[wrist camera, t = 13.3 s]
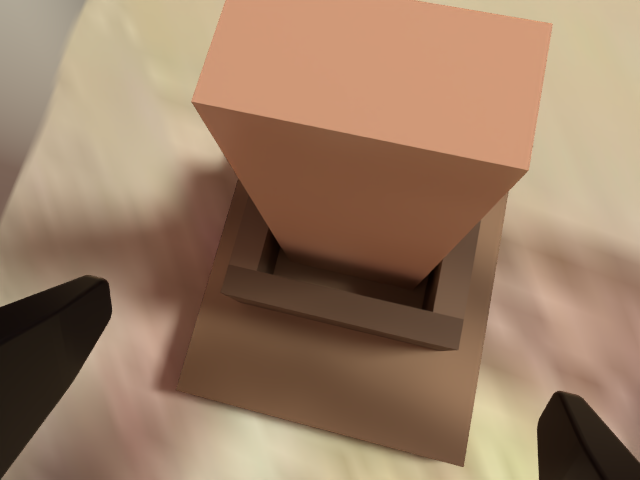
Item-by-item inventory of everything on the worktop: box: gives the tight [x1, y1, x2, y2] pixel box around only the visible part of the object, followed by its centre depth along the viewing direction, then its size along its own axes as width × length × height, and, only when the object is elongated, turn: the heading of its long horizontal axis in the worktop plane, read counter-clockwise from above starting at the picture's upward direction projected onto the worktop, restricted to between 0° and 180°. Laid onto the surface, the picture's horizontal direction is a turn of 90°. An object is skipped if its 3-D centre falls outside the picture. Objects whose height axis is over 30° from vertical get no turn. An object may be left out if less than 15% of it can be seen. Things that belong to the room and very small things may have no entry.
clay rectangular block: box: [191, 0, 553, 290], centre depth 13 cm, size 2×5×12 cm, turn 76°
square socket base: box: [176, 178, 508, 467], centre depth 18 cm, size 14×11×4 cm
